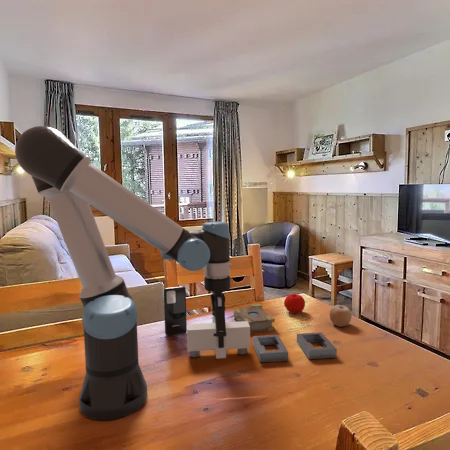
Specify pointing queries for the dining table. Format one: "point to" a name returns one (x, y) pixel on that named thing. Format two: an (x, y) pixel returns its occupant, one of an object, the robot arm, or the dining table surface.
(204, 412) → the dining table surface
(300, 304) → the apple
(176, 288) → the smartphone
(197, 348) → the bar
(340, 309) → the fruit
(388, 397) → the dining table surface
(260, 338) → the keyhole plates
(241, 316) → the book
